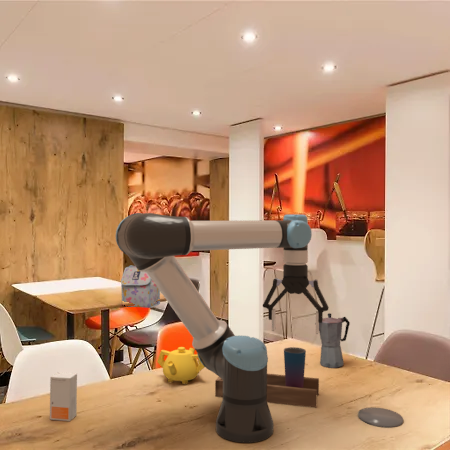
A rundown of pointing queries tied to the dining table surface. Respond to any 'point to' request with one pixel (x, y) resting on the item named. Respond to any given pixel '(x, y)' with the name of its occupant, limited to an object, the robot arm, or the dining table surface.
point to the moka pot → (332, 341)
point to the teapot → (180, 364)
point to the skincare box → (63, 396)
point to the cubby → (284, 391)
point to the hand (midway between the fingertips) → (295, 331)
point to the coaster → (380, 417)
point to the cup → (294, 366)
